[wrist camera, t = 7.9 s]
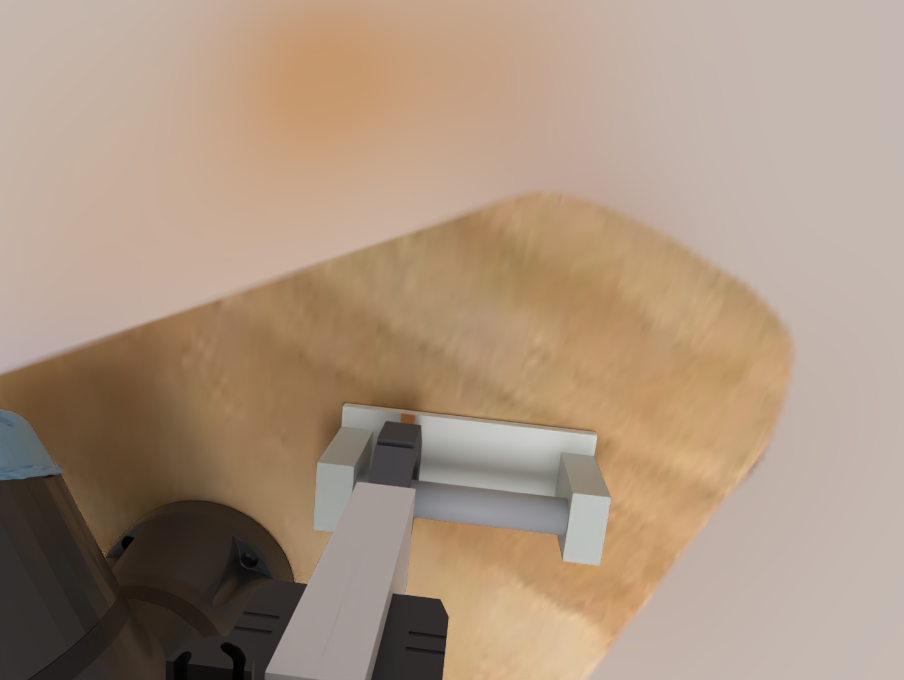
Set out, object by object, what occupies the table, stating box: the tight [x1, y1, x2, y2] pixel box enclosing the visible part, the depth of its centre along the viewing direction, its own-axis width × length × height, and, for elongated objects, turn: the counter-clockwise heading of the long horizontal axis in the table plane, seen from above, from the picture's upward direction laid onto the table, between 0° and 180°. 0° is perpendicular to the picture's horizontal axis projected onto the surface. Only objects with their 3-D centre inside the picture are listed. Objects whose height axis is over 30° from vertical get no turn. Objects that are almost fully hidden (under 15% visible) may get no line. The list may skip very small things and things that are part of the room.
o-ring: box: [368, 421, 422, 527], centre depth 41 cm, size 2×9×9 cm, turn 174°
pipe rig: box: [313, 403, 611, 566], centre depth 43 cm, size 19×8×7 cm, turn 84°
